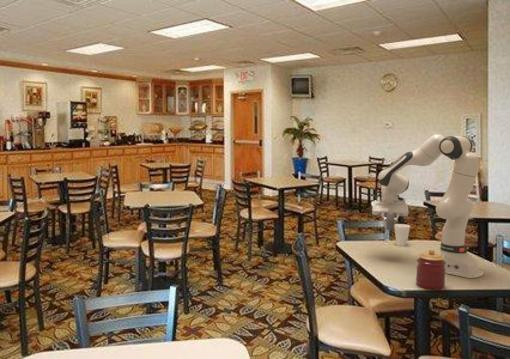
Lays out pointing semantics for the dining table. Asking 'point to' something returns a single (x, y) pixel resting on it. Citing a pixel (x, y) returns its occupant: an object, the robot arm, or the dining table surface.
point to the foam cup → (401, 234)
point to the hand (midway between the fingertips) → (390, 220)
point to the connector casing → (390, 220)
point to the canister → (430, 270)
